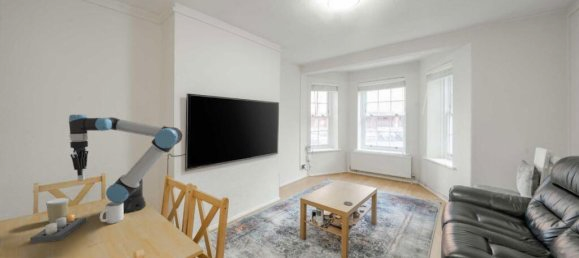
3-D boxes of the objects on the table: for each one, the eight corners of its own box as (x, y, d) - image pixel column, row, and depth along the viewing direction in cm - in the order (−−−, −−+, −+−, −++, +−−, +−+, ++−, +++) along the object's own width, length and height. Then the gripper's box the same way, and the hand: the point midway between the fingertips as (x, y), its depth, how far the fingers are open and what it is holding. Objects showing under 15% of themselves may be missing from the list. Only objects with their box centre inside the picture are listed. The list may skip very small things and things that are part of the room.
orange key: (76, 222, 129) (76, 213, 128) (71, 225, 125) (71, 217, 124) (68, 222, 128) (68, 214, 127) (63, 226, 124) (62, 217, 123)
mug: (104, 228, 124) (103, 210, 124) (95, 225, 127) (94, 207, 127) (126, 219, 135) (126, 202, 135) (117, 216, 139) (117, 200, 138)
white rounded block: (59, 231, 116) (59, 222, 116) (53, 235, 112) (52, 226, 112) (49, 232, 115) (49, 223, 115) (43, 236, 111) (43, 226, 111)
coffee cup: (74, 217, 135) (73, 198, 135) (56, 225, 126) (56, 204, 125) (60, 216, 136) (59, 197, 136) (42, 223, 127) (41, 203, 126)
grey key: (68, 225, 122) (68, 216, 122) (62, 229, 118) (62, 220, 118) (59, 226, 121) (59, 217, 121) (53, 230, 117) (53, 220, 117)
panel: (86, 221, 131) (86, 217, 131) (60, 240, 112) (60, 235, 111) (61, 223, 128) (61, 218, 128) (30, 242, 109) (30, 237, 109)
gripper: (78, 139, 136) (80, 177, 138) (63, 142, 124) (66, 184, 125) (93, 139, 138) (94, 176, 140) (80, 141, 126) (82, 183, 128)
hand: (81, 180), depth 133 cm, fingers closed
